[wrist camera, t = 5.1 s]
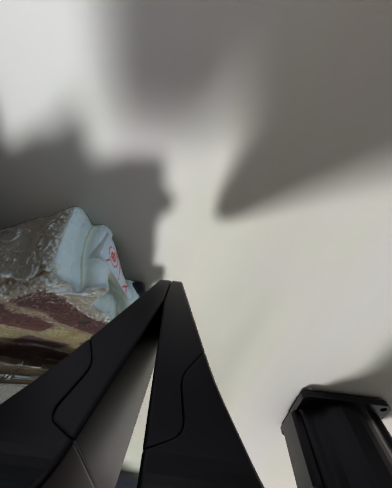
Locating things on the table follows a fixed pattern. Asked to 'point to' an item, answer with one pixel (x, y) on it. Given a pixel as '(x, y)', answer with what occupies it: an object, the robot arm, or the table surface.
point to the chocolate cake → (56, 291)
